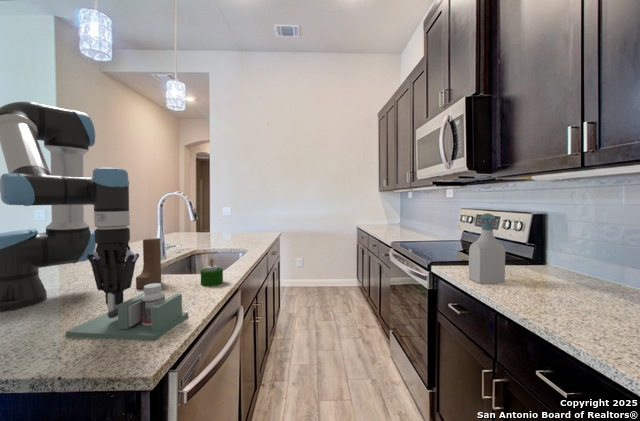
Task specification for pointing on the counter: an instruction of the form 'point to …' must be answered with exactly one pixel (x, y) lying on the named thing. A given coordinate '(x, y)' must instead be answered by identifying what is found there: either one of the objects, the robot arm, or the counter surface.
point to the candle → (211, 275)
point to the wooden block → (150, 263)
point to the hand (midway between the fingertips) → (115, 316)
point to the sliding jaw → (128, 312)
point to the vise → (162, 321)
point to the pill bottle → (150, 301)
